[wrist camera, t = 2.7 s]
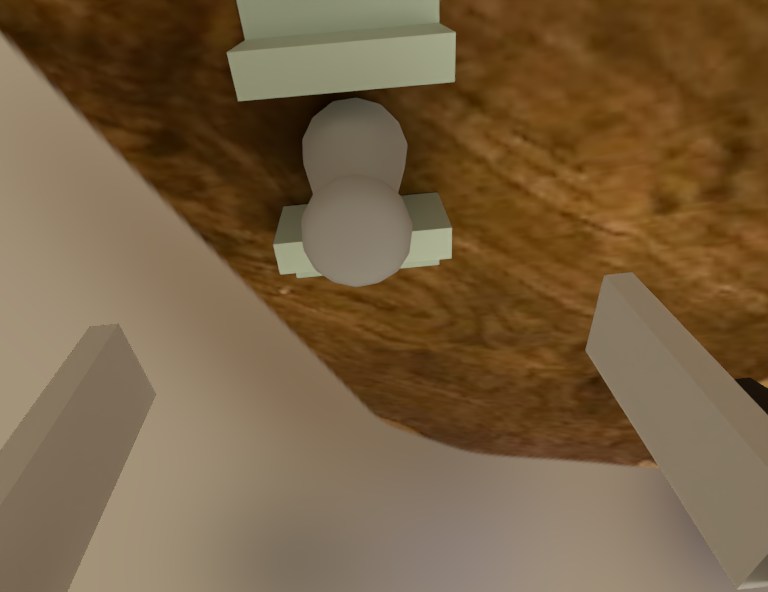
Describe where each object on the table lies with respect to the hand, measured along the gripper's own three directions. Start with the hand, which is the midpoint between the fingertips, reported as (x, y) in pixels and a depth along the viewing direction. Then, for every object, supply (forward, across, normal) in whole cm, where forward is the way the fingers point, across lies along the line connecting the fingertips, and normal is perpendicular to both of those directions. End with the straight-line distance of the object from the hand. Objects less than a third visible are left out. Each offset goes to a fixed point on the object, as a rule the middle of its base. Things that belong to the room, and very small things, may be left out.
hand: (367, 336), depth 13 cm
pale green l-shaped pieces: (+18, 0, 0) cm, 18 cm away
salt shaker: (+18, 0, 0) cm, 18 cm away
